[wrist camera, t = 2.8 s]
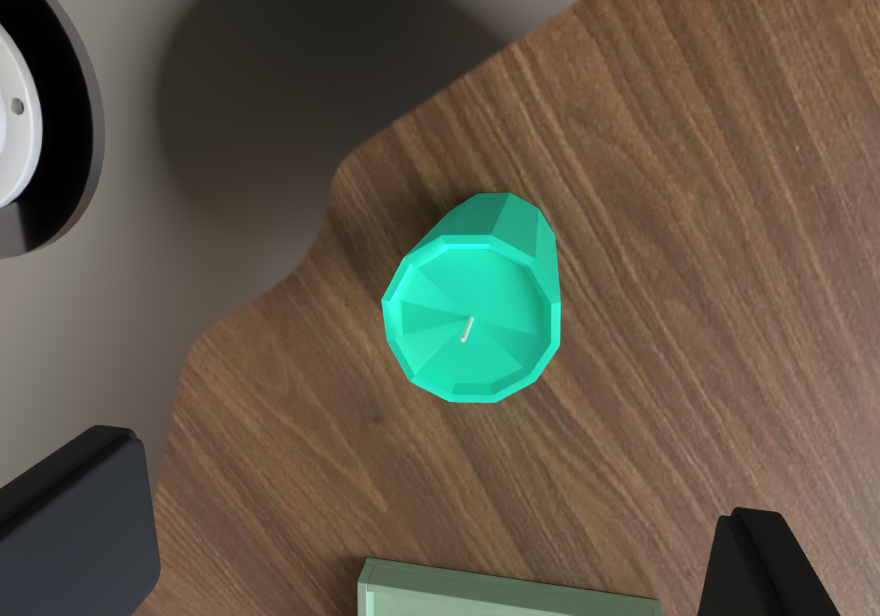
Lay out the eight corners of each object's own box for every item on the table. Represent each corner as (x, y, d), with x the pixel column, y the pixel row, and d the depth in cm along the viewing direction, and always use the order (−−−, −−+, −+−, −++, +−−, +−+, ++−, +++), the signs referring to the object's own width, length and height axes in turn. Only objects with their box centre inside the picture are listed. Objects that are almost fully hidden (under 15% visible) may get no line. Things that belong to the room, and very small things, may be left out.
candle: (538, 174, 28) (534, 216, 16) (570, 294, 29) (586, 407, 18) (418, 211, 29) (339, 272, 18) (454, 323, 31) (402, 444, 19)
